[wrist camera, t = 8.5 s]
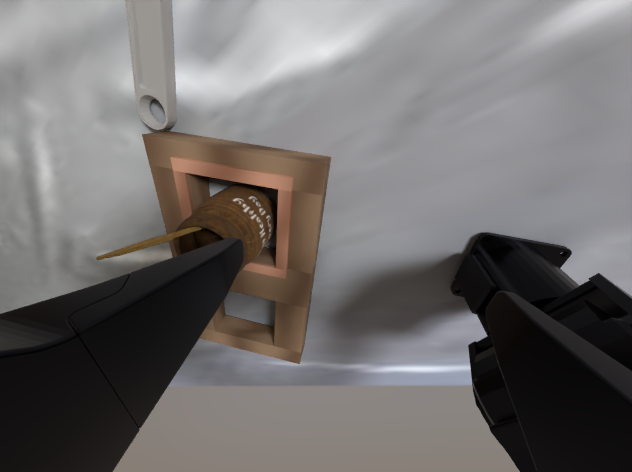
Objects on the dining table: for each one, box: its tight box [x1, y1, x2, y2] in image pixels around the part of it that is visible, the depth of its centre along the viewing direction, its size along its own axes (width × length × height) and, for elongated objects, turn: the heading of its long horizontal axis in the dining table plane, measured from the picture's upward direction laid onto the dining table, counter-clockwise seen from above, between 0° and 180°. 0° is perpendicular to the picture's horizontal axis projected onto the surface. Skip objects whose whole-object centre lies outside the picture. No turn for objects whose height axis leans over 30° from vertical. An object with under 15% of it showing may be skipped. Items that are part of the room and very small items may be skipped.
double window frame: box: [142, 131, 331, 364], centre depth 24 cm, size 14×24×3 cm, turn 173°
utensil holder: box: [96, 184, 277, 273], centre depth 17 cm, size 6×6×12 cm
